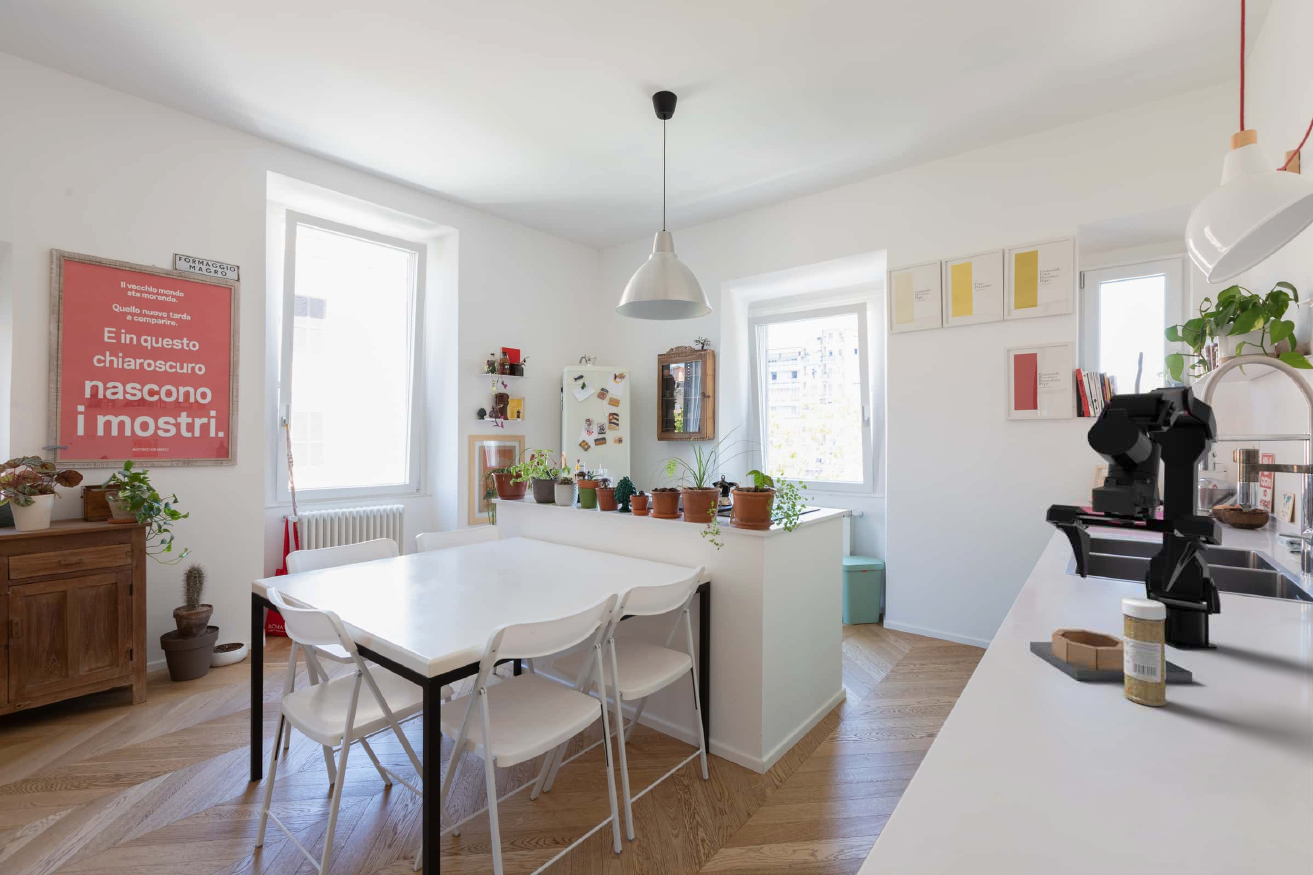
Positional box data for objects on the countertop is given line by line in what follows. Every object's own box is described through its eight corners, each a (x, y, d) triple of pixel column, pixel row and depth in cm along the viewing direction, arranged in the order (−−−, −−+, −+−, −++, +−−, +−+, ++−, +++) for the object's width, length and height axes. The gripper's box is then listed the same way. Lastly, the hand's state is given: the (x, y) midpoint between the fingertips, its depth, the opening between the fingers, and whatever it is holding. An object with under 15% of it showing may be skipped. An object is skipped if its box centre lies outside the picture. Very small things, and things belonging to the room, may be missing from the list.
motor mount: (1130, 652, 97) (1130, 625, 97) (1192, 682, 85) (1192, 651, 85) (1030, 650, 98) (1029, 623, 98) (1076, 680, 86) (1076, 649, 86)
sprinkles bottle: (1171, 701, 79) (1170, 602, 79) (1159, 710, 76) (1158, 607, 76) (1129, 689, 83) (1129, 594, 83) (1117, 697, 80) (1116, 599, 80)
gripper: (1038, 458, 87) (1025, 562, 84) (1208, 462, 72) (1199, 588, 69) (1065, 478, 94) (1053, 575, 91) (1226, 485, 79) (1218, 602, 76)
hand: (1122, 583), depth 81 cm, fingers open, 9 cm apart
